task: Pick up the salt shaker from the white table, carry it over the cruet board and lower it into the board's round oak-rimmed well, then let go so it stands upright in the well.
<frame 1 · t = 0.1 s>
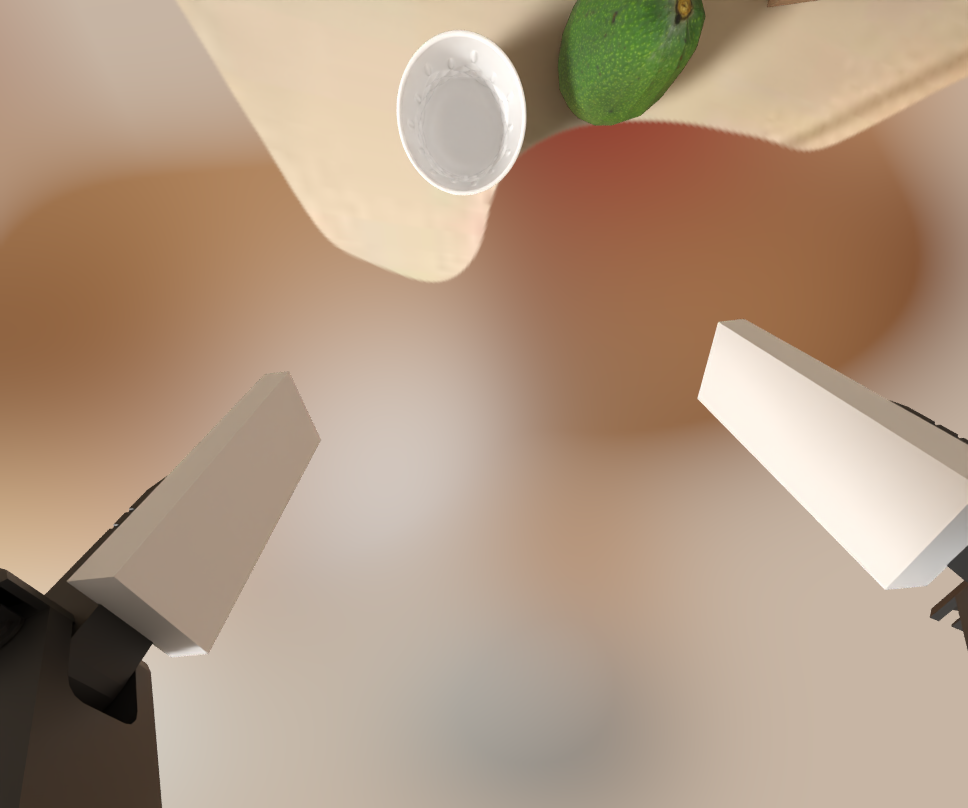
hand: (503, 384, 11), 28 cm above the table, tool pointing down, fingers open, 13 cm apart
avocado: (596, 66, 28), on the table
white cup: (463, 132, 30), on the table
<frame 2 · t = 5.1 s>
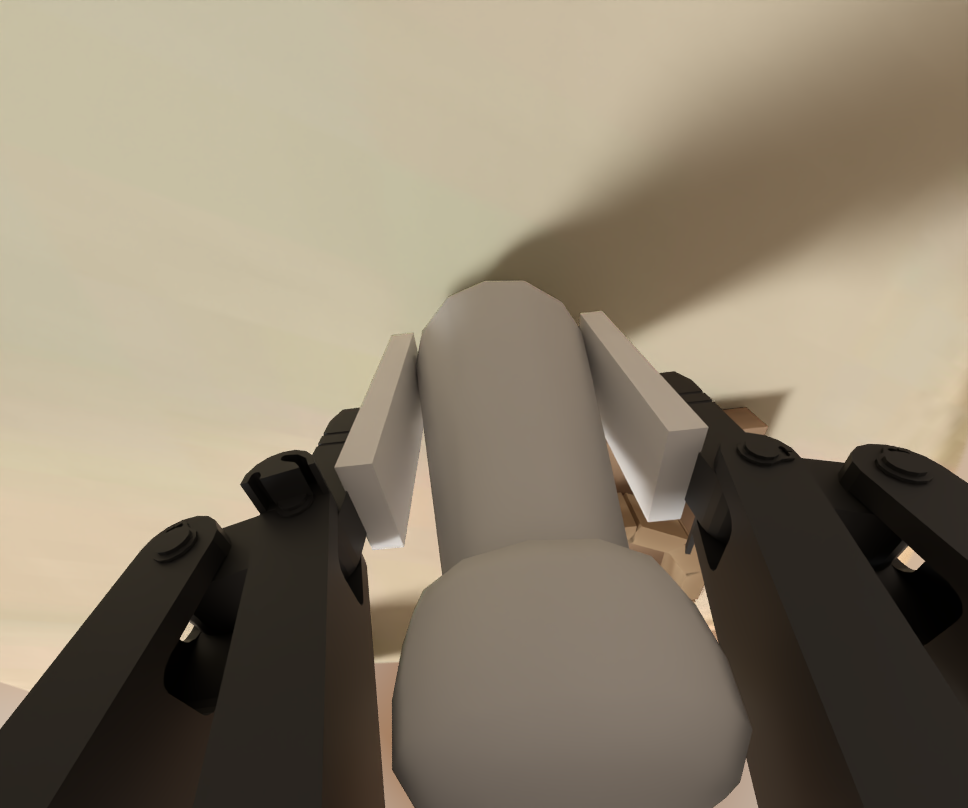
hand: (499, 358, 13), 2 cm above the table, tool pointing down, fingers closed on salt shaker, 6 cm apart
cruet board: (579, 539, 22), on the table
salt shaker: (495, 335, 15), on the table, touching gripper
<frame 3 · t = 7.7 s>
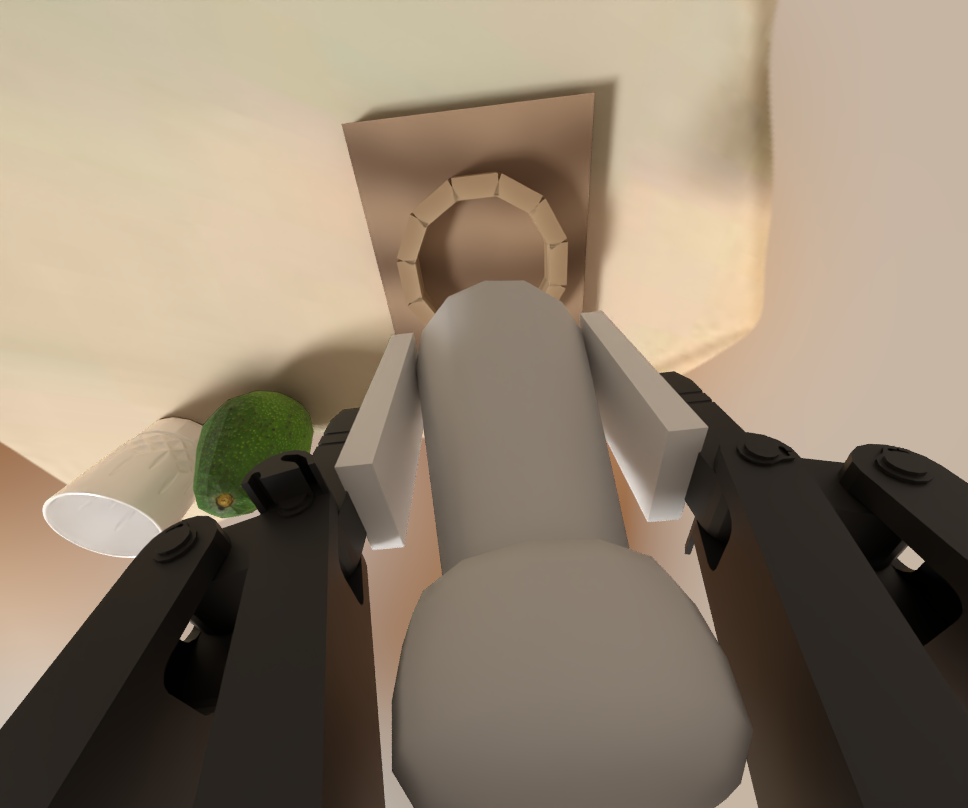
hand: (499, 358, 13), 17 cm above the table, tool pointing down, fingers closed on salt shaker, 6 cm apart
avocado: (285, 406, 34), on the table
white cup: (189, 442, 36), on the table
cruet board: (482, 261, 27), on the table
salt shaker: (495, 335, 15), point 15 cm above the table, touching gripper
when the fingers open (6 cm above the table, at t = 10.5 s): salt shaker drops 2 cm, resting on cruet board.
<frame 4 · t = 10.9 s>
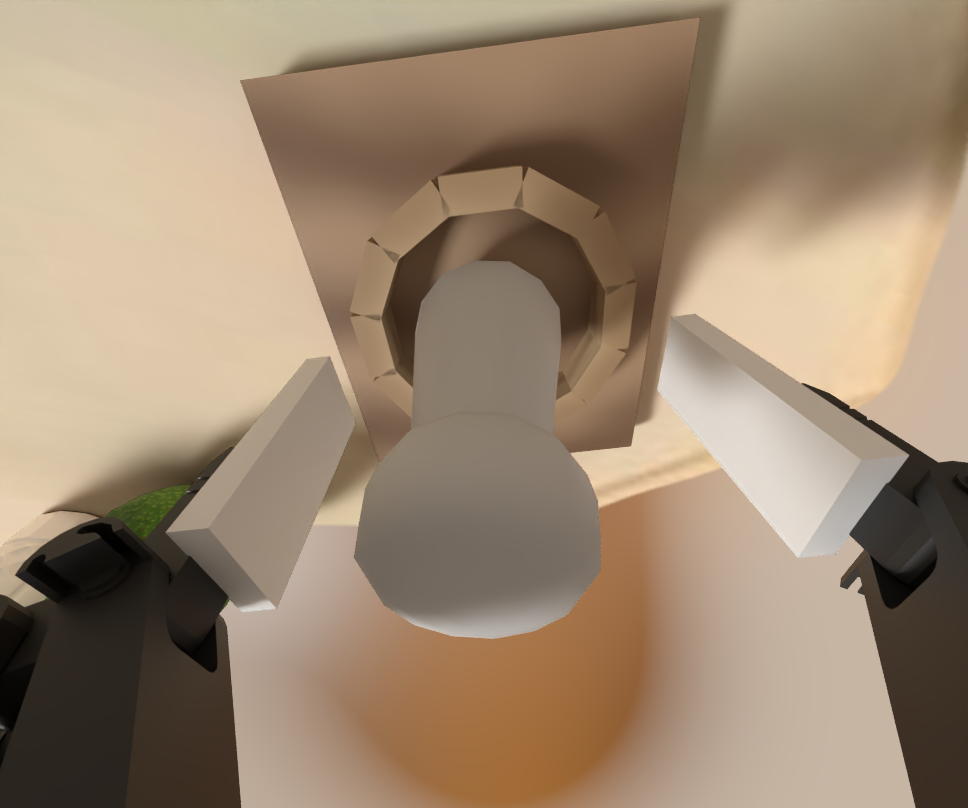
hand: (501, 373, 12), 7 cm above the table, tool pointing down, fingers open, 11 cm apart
avocado: (216, 494, 25), on the table
white cup: (93, 537, 27), on the table
cruet board: (490, 305, 18), on the table
salt shaker: (489, 315, 17), point 1 cm above the table, touching cruet board
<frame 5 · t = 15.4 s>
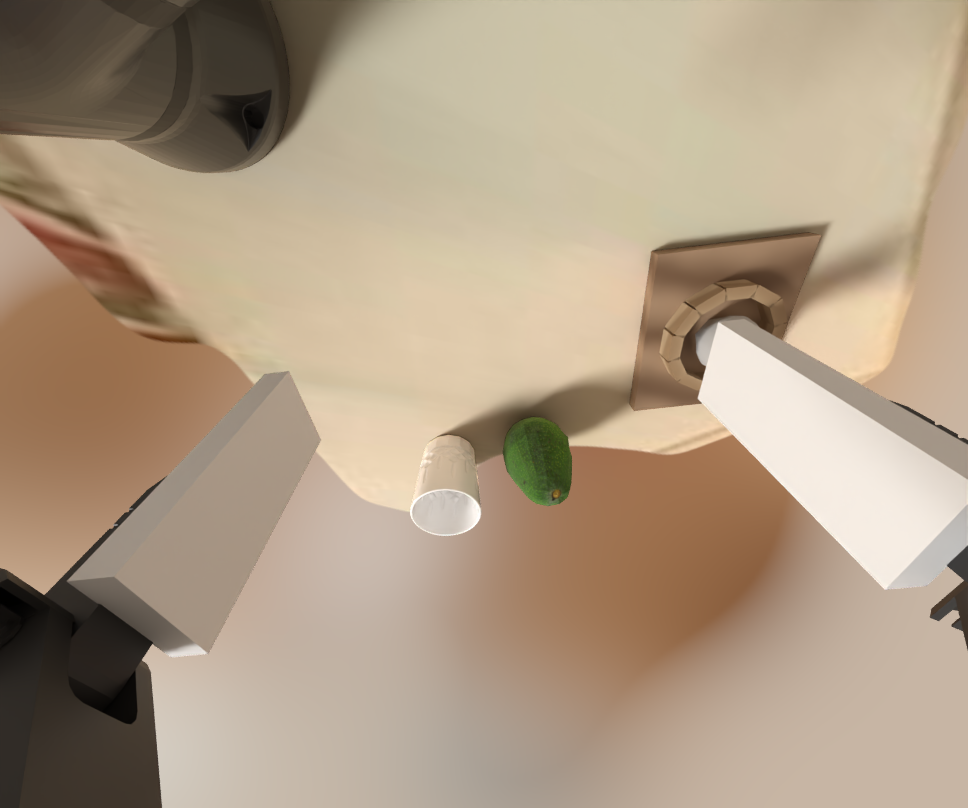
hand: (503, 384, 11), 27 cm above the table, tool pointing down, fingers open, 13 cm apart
avocado: (530, 426, 47), on the table
white cup: (449, 452, 49), on the table
cruet board: (707, 329, 40), on the table
salt shaker: (713, 333, 39), point 1 cm above the table, touching cruet board
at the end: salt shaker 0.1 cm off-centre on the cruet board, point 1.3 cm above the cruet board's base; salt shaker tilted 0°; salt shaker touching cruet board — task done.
